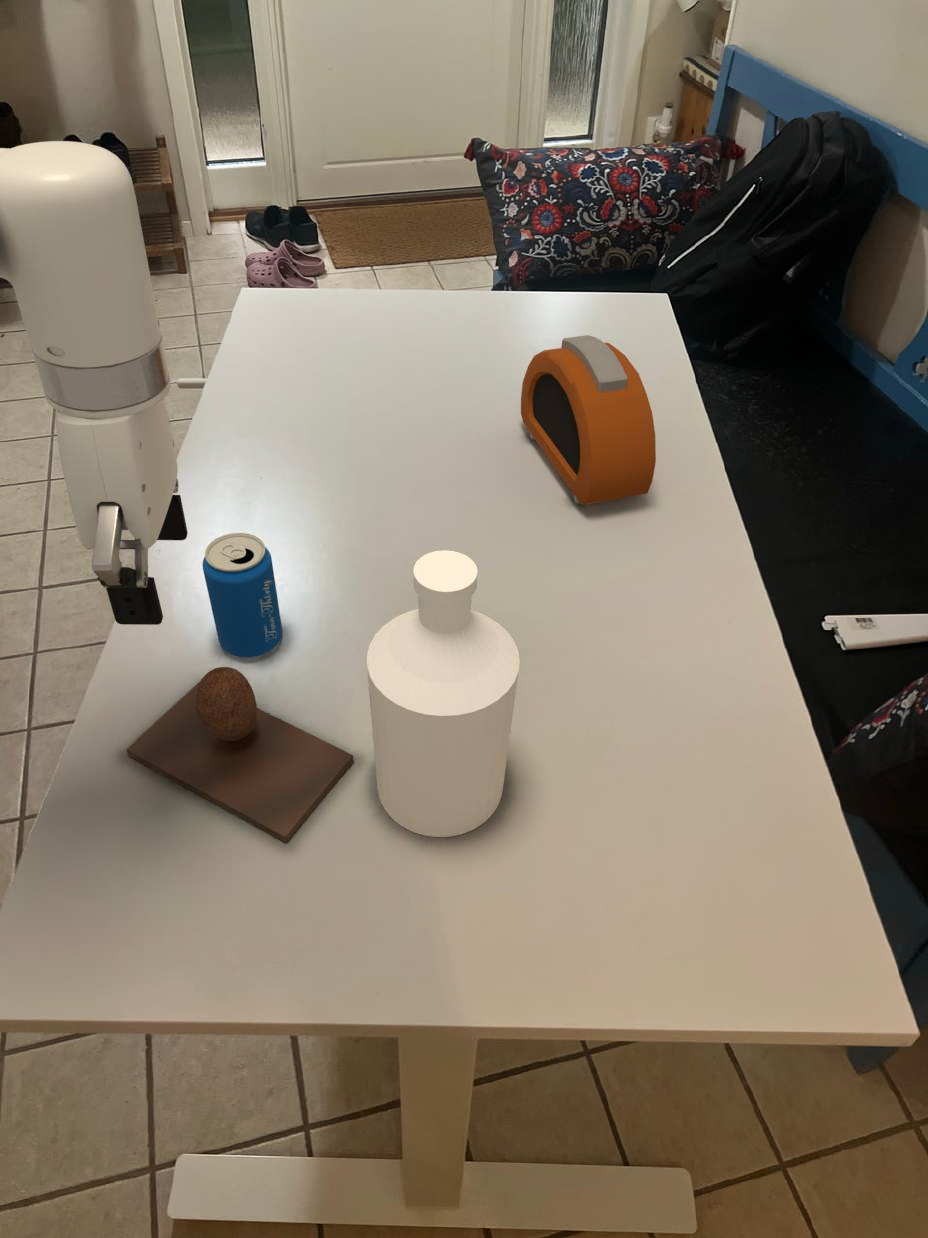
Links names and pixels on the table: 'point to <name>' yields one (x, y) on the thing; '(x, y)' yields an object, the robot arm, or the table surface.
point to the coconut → (226, 704)
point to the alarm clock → (591, 419)
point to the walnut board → (245, 766)
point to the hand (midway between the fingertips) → (154, 577)
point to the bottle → (442, 703)
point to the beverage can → (242, 595)
